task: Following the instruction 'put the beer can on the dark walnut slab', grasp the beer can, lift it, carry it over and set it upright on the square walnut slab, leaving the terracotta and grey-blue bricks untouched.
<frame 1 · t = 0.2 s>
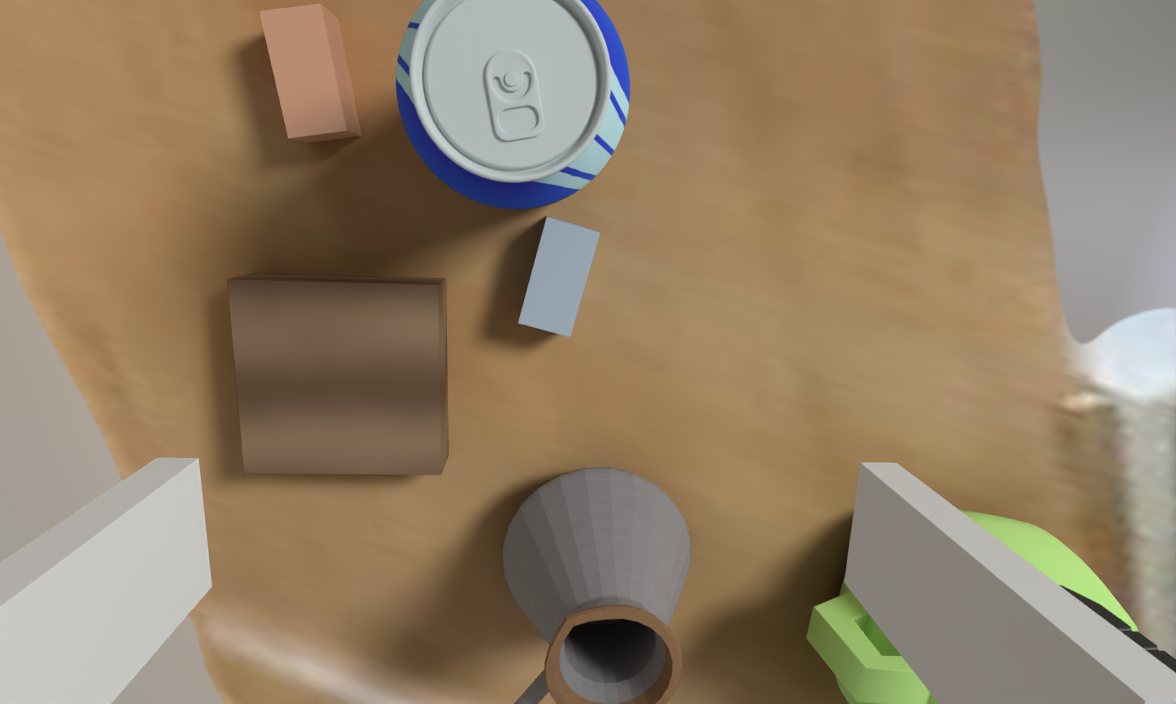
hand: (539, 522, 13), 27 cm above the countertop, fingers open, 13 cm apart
walnut slab: (354, 368, 39), on the countertop
greyblue brick: (557, 272, 39), on the countertop
beer can: (525, 129, 37), on the countertop
terracotta brick: (323, 82, 36), on the countertop
coffee pot: (535, 575, 44), on the countertop
teapot: (908, 612, 46), on the countertop
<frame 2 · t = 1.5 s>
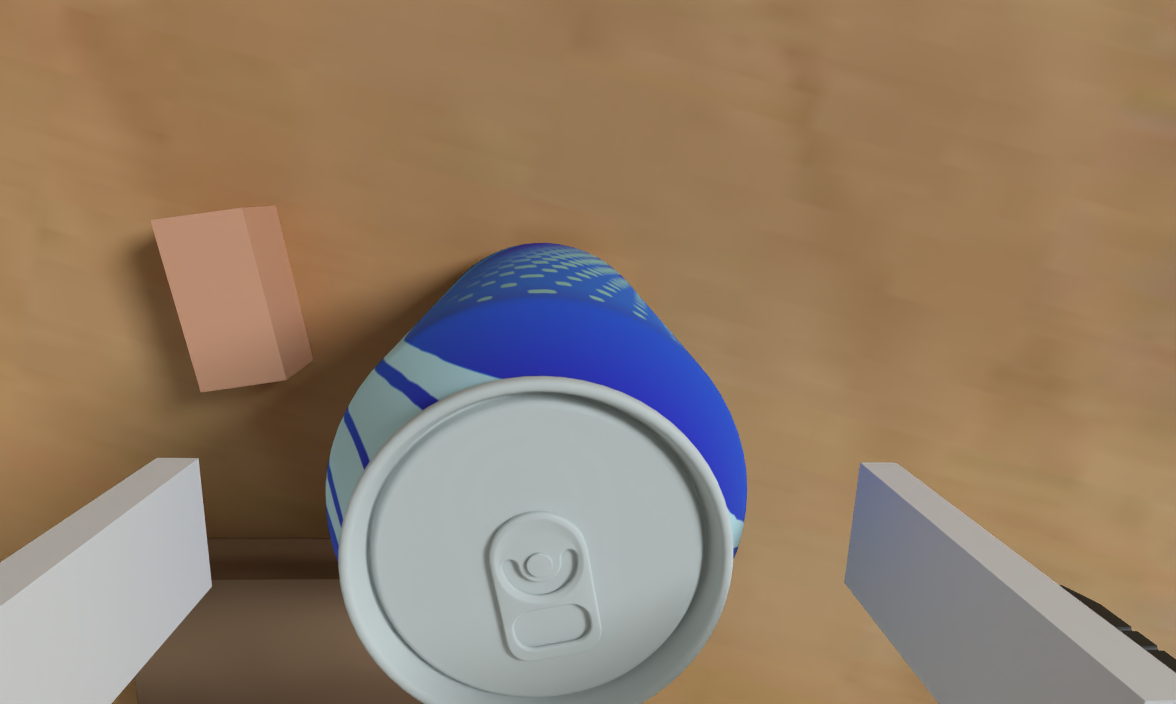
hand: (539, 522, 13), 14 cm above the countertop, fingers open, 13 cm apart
walnut slab: (309, 651, 29), on the countertop
beer can: (543, 345, 27), on the countertop
terracotta brick: (257, 289, 25), on the countertop
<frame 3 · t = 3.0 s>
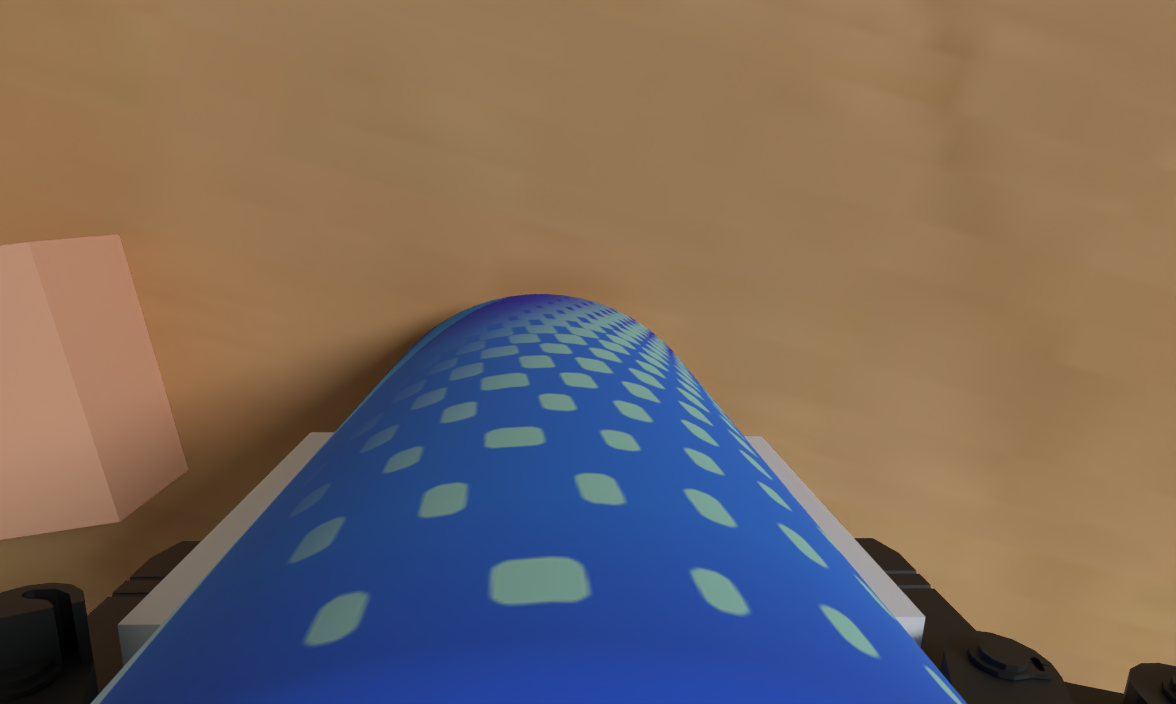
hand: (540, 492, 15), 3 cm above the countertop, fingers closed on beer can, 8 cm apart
beer can: (542, 443, 18), on the countertop, touching gripper
terracotta brick: (98, 364, 16), on the countertop
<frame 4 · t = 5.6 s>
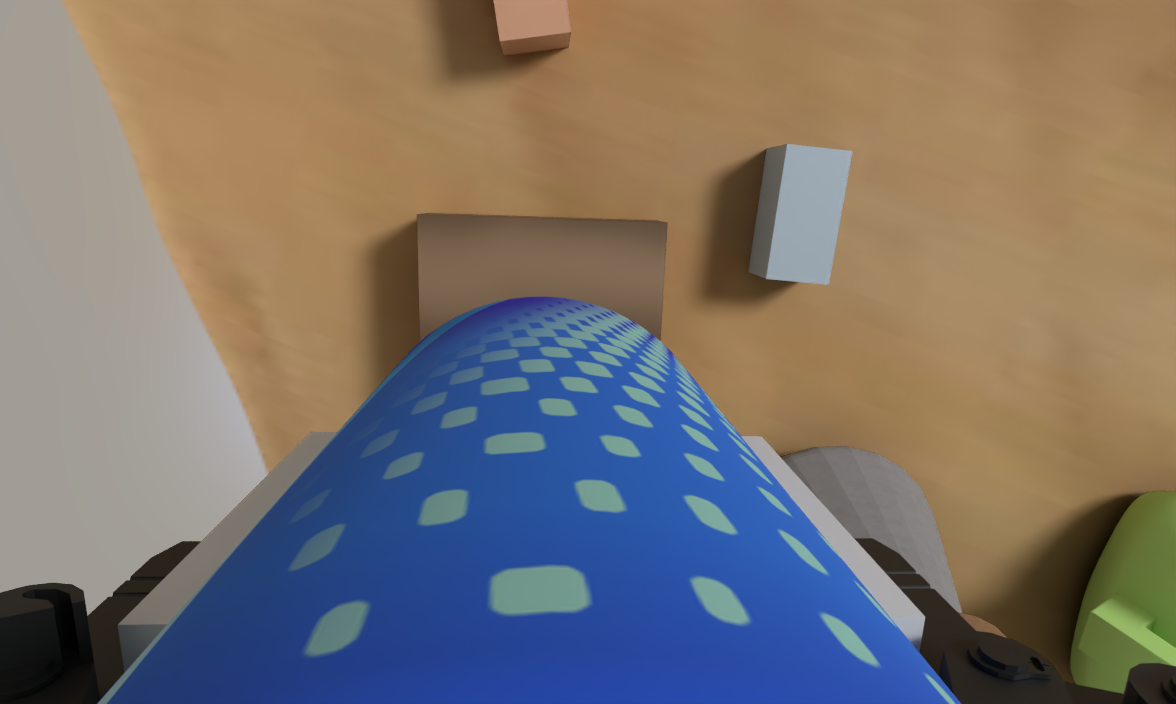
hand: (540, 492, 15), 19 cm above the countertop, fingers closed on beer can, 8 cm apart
walnut slab: (541, 328, 33), on the countertop
greyblue brick: (785, 214, 33), on the countertop
beer can: (542, 445, 18), point 16 cm above the countertop, touching gripper
coffee pot: (732, 574, 37), on the countertop
teapot: (1150, 617, 40), on the countertop
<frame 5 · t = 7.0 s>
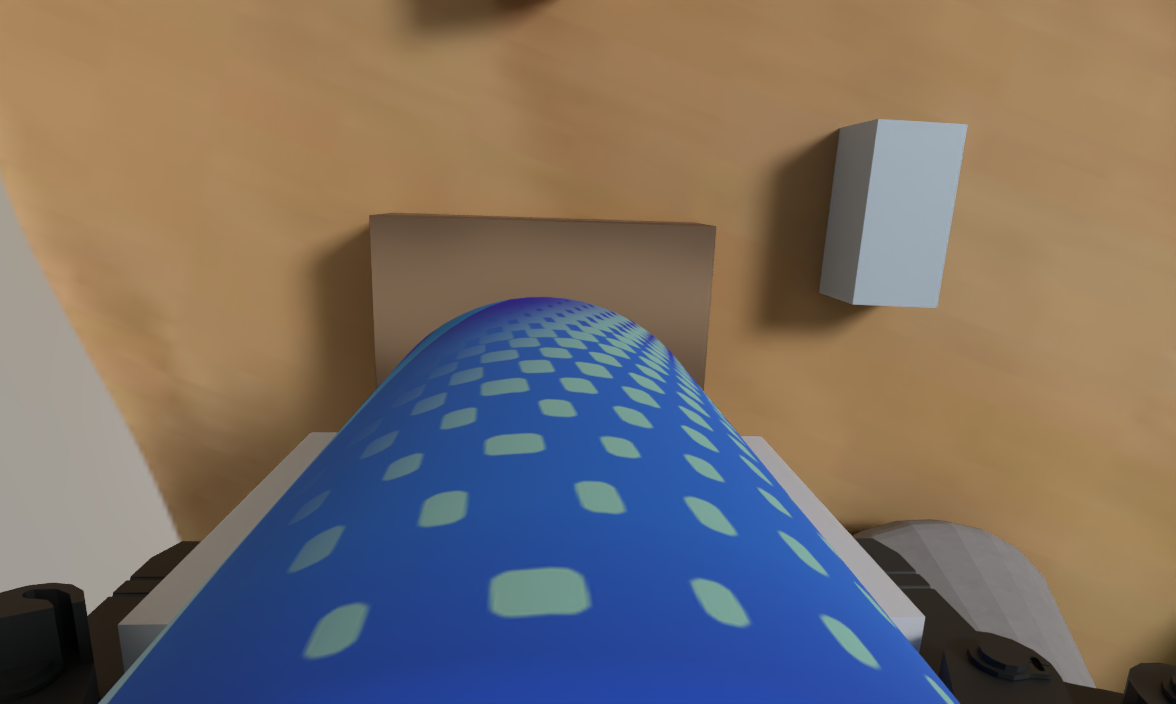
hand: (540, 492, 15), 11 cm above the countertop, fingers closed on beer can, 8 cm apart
walnut slab: (543, 365, 25), on the countertop
greyblue brick: (865, 214, 25), on the countertop
beer can: (542, 445, 18), point 8 cm above the countertop, touching gripper
coffee pot: (785, 673, 29), on the countertop
when the fingers open (7 cm above the countertop, at t = 8.3 s): beer can stays where it is, resting on walnut slab.
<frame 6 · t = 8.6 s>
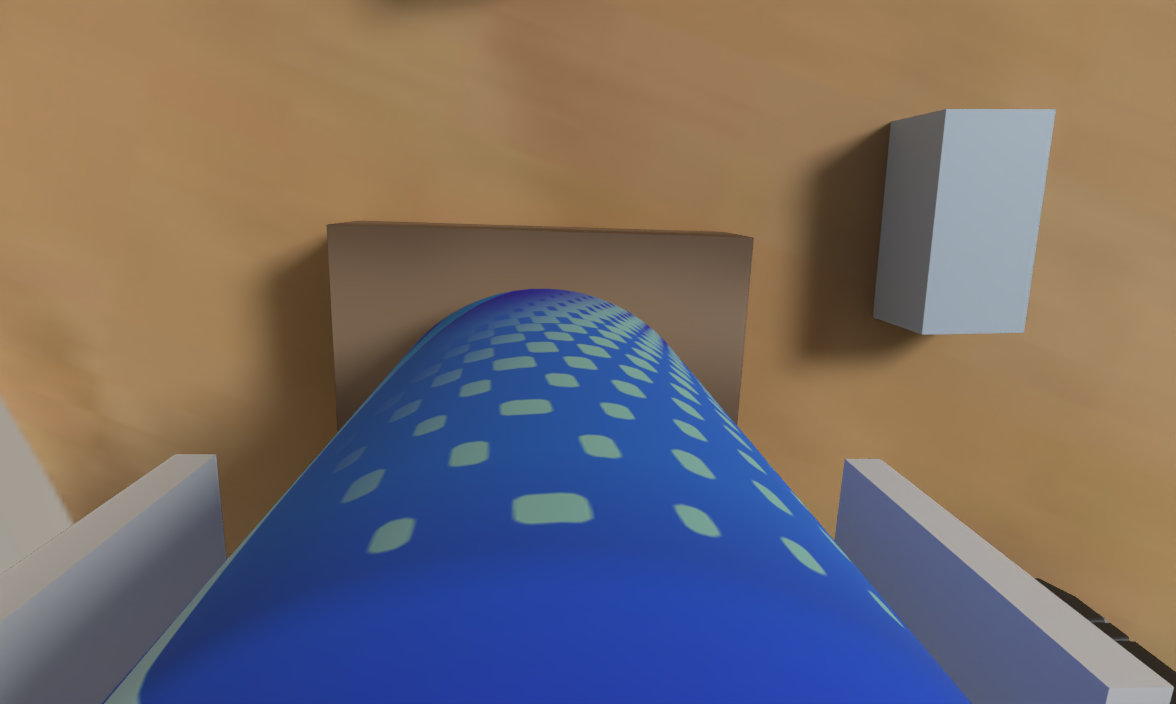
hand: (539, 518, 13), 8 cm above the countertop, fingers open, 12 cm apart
walnut slab: (541, 400, 21), on the countertop
greyblue brick: (924, 222, 21), on the countertop
beer can: (543, 430, 18), point 3 cm above the countertop, touching walnut slab
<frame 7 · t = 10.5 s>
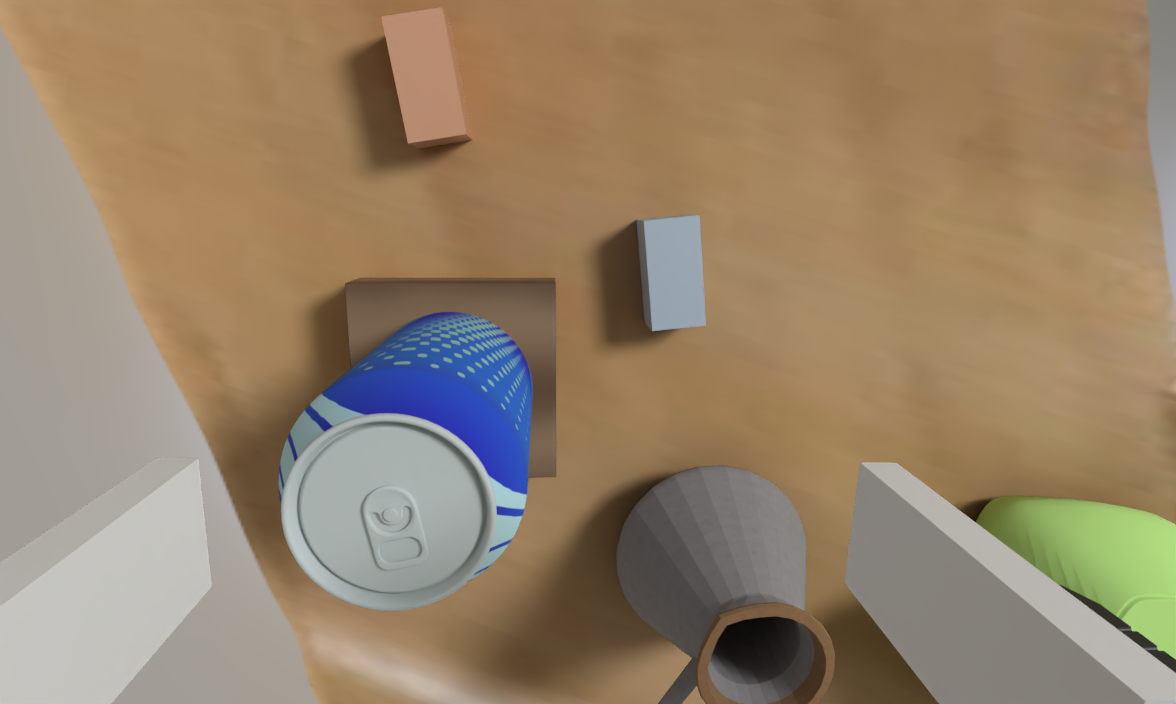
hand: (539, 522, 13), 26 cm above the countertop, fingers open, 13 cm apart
walnut slab: (461, 371, 39), on the countertop
greyblue brick: (665, 269, 39), on the countertop
beer can: (456, 383, 36), point 3 cm above the countertop, touching walnut slab
terracotta brick: (434, 87, 36), on the countertop
coffee pot: (640, 578, 43), on the countertop
teapot: (1016, 607, 45), on the countertop
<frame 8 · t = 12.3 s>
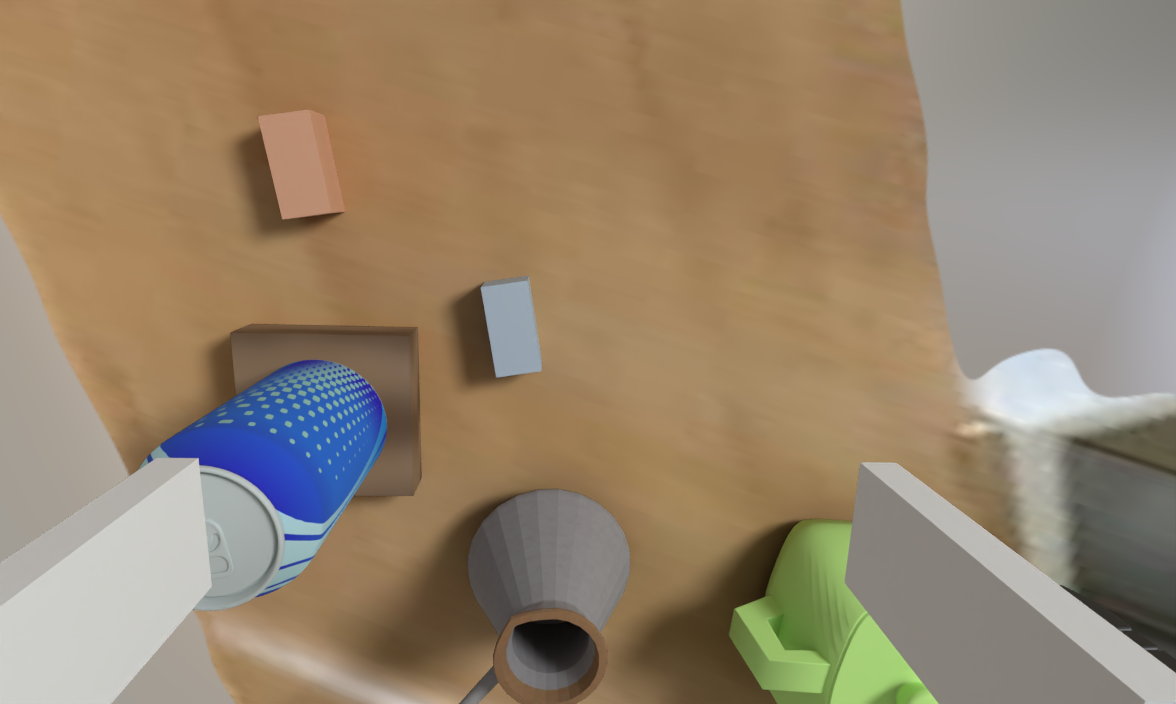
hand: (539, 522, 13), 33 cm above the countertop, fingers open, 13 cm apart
walnut slab: (339, 403, 46), on the countertop
greyblue brick: (513, 321, 46), on the countertop
beer can: (327, 416, 43), point 3 cm above the countertop, touching walnut slab
terracotta brick: (312, 167, 42), on the countertop
coffee pot: (498, 581, 50), on the countertop
teapot: (827, 613, 52), on the countertop
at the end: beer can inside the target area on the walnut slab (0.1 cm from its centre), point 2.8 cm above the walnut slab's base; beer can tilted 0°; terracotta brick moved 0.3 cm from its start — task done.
